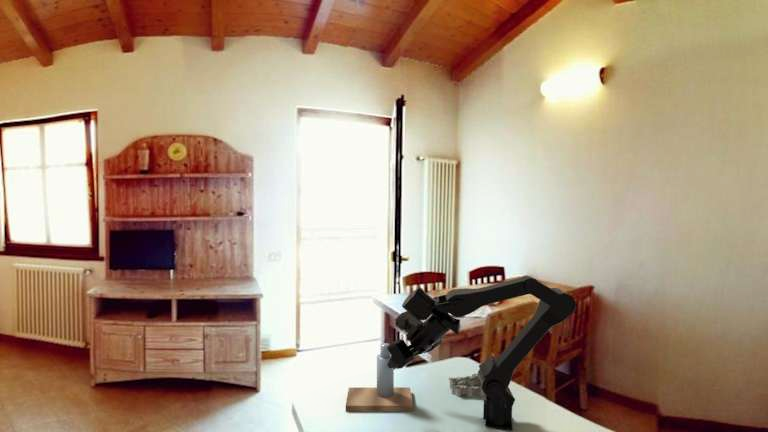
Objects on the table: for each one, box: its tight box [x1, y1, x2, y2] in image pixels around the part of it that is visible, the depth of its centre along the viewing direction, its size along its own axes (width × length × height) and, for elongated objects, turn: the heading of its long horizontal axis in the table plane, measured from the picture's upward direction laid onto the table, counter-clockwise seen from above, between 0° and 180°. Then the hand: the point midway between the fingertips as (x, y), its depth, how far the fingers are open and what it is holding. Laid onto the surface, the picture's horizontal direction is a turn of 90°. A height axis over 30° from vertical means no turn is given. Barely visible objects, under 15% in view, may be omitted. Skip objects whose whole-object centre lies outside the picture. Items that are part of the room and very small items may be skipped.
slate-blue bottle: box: [376, 342, 395, 397], centre depth 110 cm, size 5×5×14 cm
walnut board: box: [345, 386, 414, 412], centre depth 109 cm, size 18×10×2 cm, turn 90°
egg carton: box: [448, 373, 486, 397], centre depth 115 cm, size 11×8×4 cm
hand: (398, 360), depth 107 cm, fingers open, 9 cm apart
